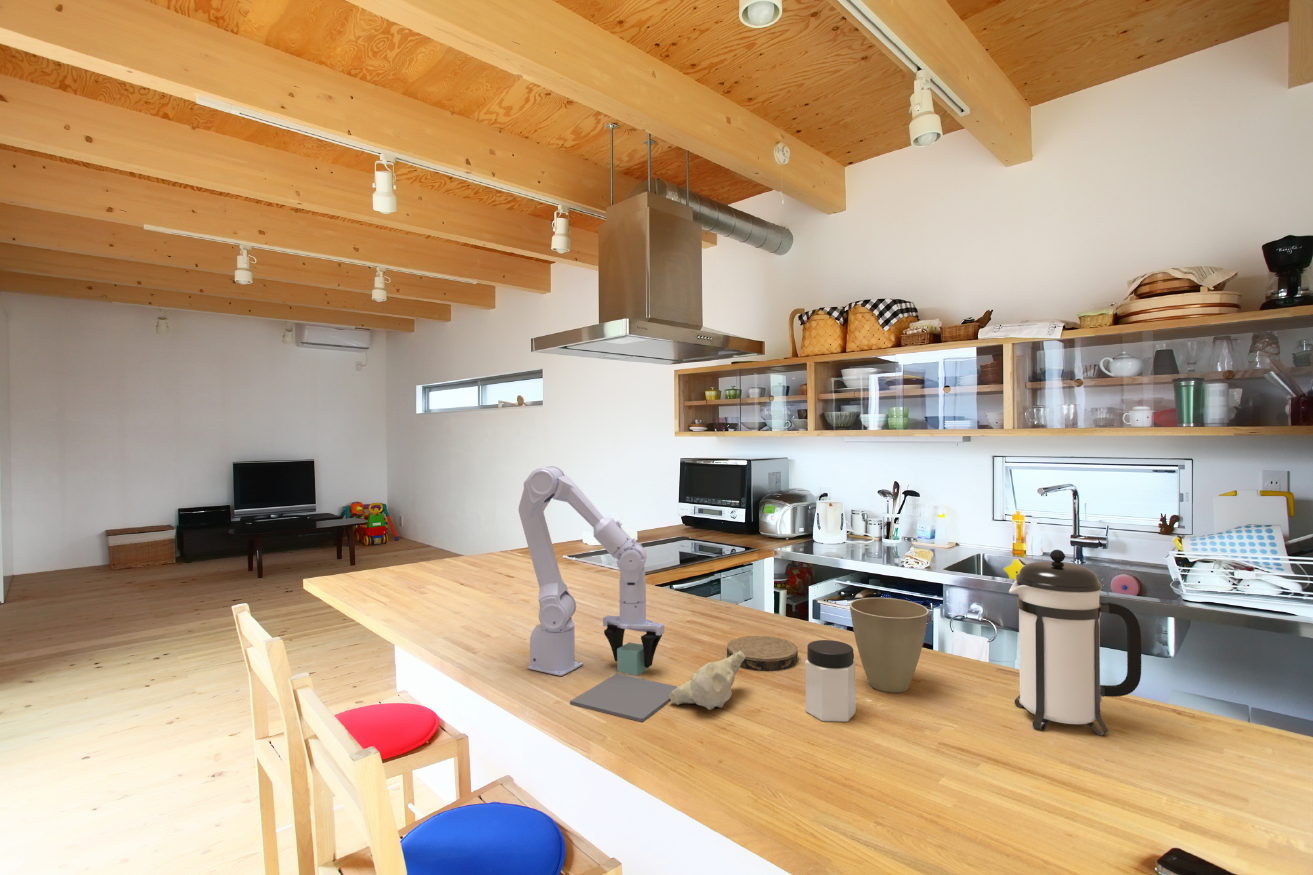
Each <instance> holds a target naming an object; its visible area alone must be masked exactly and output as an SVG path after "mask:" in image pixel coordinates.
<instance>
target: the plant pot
mask: <svg viewBox="0 0 1313 875" xmlns="http://www.w3.org/2000/svg"><path fill="white" fill-rule="evenodd" d="M849 610H850V617H851V623H852V629H853V634H854V638H855V643H856V646H857V651H858V654H859V657H860V661H861V664H862V667H863V670H864V673H865V676H866V678H867V682H868V684H869V685H870V687H872V688H873V689H876V690H878V691H880V692H885V693H893V694H894V693H895V694H896V693H903V692H906V691H907V690H908V689H909V686H910V685H911V681H913V676H914V674H915V672H916V669H917V666H918V662H919V660H920V656H921V652H922V650H923V649H922V648H923V645H924V641H925V636H926V630H927V623H928V618H929V612H930V611H929V609H928V608H927V607H925V606H924V605H922V604H920V603H917V602H915V601H908V600H907V599H906V600H905V599H900V598H899V599H898V598H893V597H865V598H857V599H855V600H852V601H851V602H850V603H849Z"/></svg>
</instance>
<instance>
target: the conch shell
mask: <svg viewBox="0 0 1313 875" xmlns="http://www.w3.org/2000/svg"><path fill="white" fill-rule="evenodd" d="M745 657H746V656H745V655H744V654H743V652H741V651H739V652H737V653H735V652H733V655H731V656H730V657H728V658H727V657H725V658H723V659H720V660H717V661H710V662H707V663H706V664H704V665H702V666H701V667H700V668H698V669H697V670H696V672H694V673H692V675H691V678H690V680H687V681H686V682H685V683H684V682H683V684H681V685H677V686H678V687H677V688H676V689H675V690H673V691H672V692H671V693H670V695H669V697H670V699H671V701H670V702H672V704H676V705H677V706H679V705H681V704H688V705H689V704H696V706H700V707H704V708H705V709H707V710H709V711H712V710H713V709H715V708H716V707H717V708H718V709H721V708H723V707H724V705H725V703H726V702H727V701H729V700H730V698H731V697H732V695H733V693H732V686H733V684H734V681H735V678H736V676H737V673H738V672H739V669H741V668H740V665H741V663H742V661H744V658H745Z"/></svg>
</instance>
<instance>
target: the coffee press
mask: <svg viewBox="0 0 1313 875" xmlns="http://www.w3.org/2000/svg"><path fill="white" fill-rule="evenodd" d="M1049 557H1050V559H1051V560H1052V561H1034V562H1030V563H1027V564H1025V565H1023V566H1022V567H1021V568H1020V570H1019V572H1018V574H1016V575H1015V576H1016V577H1015V580H1014V582H1013V583H1012V585H1011V586H1010V589H1009V590H1008V593H1009V594H1010V595H1011V594H1013V595H1014V594H1015V595H1017V597H1016V598H1017V605H1016V606H1017V608H1018V642H1019V643H1018V648H1019V653H1018V654H1019V658H1018V660H1019V664H1018V665H1019V695H1018V696H1017V697H1016V698H1015V700H1014V705H1015V706H1016V707H1017V708H1020V709H1021V708H1023V707H1024V708H1025V709H1026V710H1027V711H1029V713H1032V714H1033V715H1034V717H1033V720H1032V728H1033V729H1036V730H1038V731H1041V732H1044V730H1045V729H1046V726H1047V725H1048V723H1049V722H1050V721H1051V722H1056V723H1062V724H1067V725H1087V726H1089V727H1090V728H1091V729H1092V730H1093V732H1094V733H1095V735H1097V736H1100V737H1103V736H1104V735H1106V734H1108V733H1109V729H1108V727H1107V725H1106V724H1105V722H1104V721H1103V719H1102V717H1101V703H1102V701H1103V698H1105V697H1114V698H1116V697H1123V696H1127V695H1130V694H1132V693H1133V692H1134V691H1135V690H1136V689H1137V688H1138V686H1139V684H1140V682H1141V677H1142V634H1141V626H1140V623H1139V620H1138V619H1137V617H1136V615H1135V614H1134V613H1133V612H1132V611H1131V609H1129V608H1127V607H1126V606H1124V605H1121V604H1118V603H1114V602H1100V592H1101V591H1102V588H1103V584H1102V582H1101V581H1099V577H1098V575H1096V573H1095V572H1094V571H1093V570H1091V569H1089V568H1088V567H1085V566H1082V565H1078V564H1074V563H1069V562H1068V563H1067V562H1063V561H1065V558H1066V555H1065V553H1064V552H1063V551H1062V550H1061V549H1053V550H1052V551H1051V552H1050V554H1049ZM1102 613H1109V614H1113V615H1117V616H1119V617H1120V618H1122V620H1123V621H1124V624H1125V627H1126V651H1127V652H1126V656H1127V657H1126V659H1127V661H1126V666H1127V668H1126V669H1127V670H1126V676H1125V679H1124V680H1123V681H1122V682H1120V683H1119V684H1114V685H1103V684H1101V656H1100V655H1101V649H1100V648H1101V646H1100V645H1101V642H1100V640H1101V639H1100V638H1101V637H1100V636H1101V633H1100V632H1101V630H1100V627H1101V626H1100V625H1101V624H1100V622H1101V620H1100V618H1101V616H1102ZM1095 721H1097V724H1099V726H1100V728H1101V730H1102V731H1103V732H1102V731H1101V730H1100V729H1099V728H1098V726H1097V725H1096V724H1095V723H1094V722H1095Z"/></svg>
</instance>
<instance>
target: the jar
mask: <svg viewBox="0 0 1313 875" xmlns="http://www.w3.org/2000/svg"><path fill="white" fill-rule="evenodd" d="M806 648H807V655H806V656H807V659H806V660H805V663H804V664H805V665H804V667H805V669H804V670H805V676H804V677H805V711H806V713H808V714H810V715H811V716H813V717H814V718H816V719H818V720H820V721H822V722H839V723H845V722H848V723H849V721H850V720H851V719H852V717H853V716H854V715H855V714H856V712H857V706H856V705H857V704H856V703H857V702H856V701H857V700H856V699H857V698H856V696H857V695H856V694H857V693H856V692H857V691H856V686H857V685H856V679H857V678H856V661H854V658H855V654H854V647H853V646H852V645H850V644H848V643H846V642H844V641H838V640H832V639H820V640H818V639H817V640H813V641H811V642H809V643H808V644H807V647H806Z"/></svg>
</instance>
